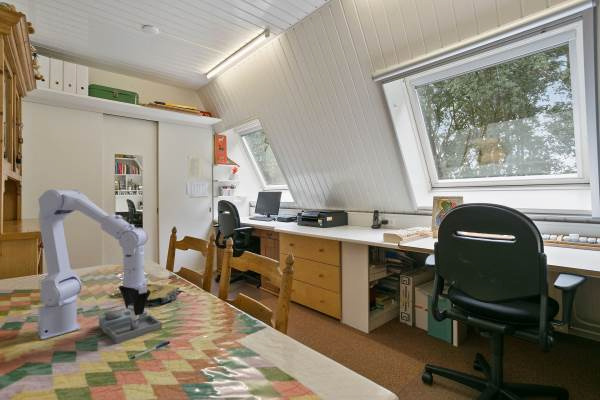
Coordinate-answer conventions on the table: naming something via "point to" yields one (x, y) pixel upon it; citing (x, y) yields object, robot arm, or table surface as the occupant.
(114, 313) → the block
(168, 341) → the ballpoint pen
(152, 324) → the tray
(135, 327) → the lock pin
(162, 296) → the pulley block
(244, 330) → the table surface
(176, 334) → the table surface
